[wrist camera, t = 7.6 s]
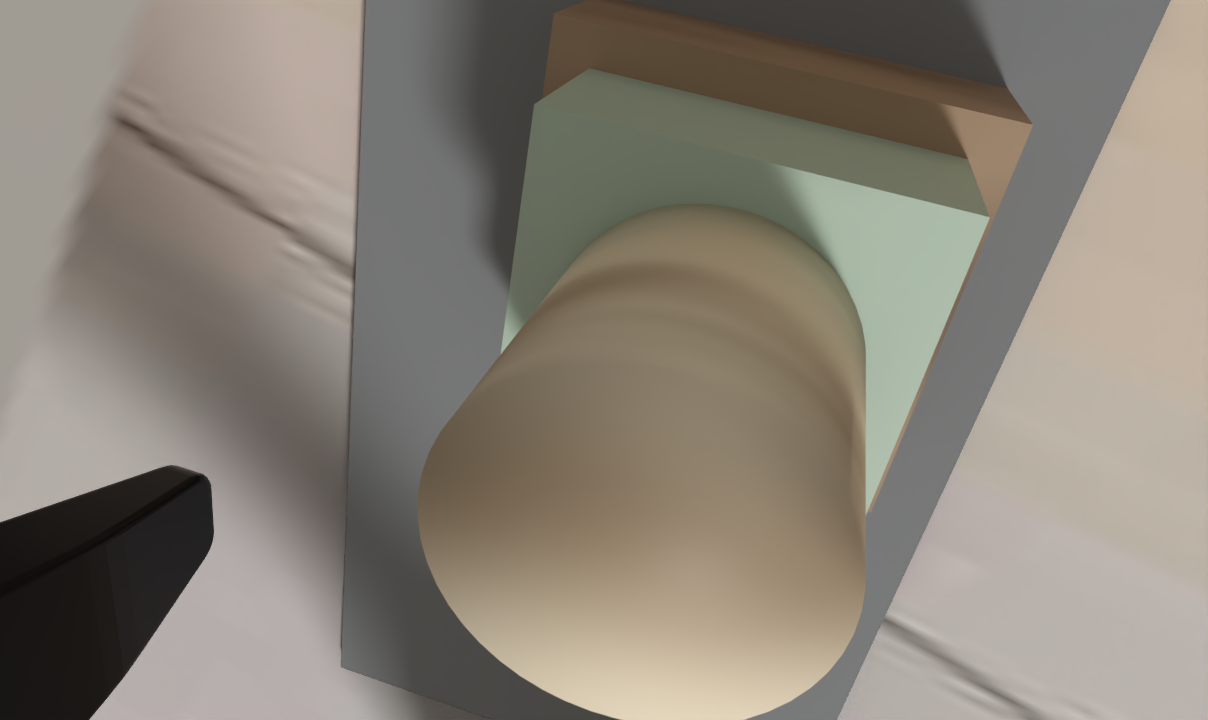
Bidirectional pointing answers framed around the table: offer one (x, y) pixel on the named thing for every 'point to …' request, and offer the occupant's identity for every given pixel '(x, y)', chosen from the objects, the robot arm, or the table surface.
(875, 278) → the sage top block
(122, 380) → the table surface
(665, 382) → the maple cylinder
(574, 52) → the walnut base block
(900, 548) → the rubber mat
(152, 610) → the robot arm
